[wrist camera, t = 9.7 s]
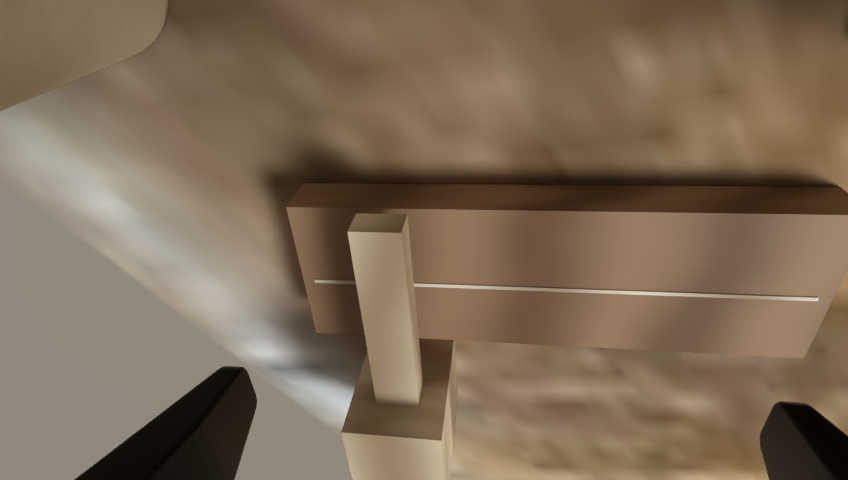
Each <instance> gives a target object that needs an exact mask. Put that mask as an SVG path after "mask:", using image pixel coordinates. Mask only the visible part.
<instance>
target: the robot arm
mask: <svg viewBox="0 0 848 480" xmlns="http://www.w3.org/2000/svg"><path fill="white" fill-rule="evenodd" d="M256 405H257V399H256V394H255V391H254V388H253V386H252V383H251V380H250V377H249V374H248V372H247V370H246V369H245V368H243V367H233V366H224V367H222V368H220V369H218V370H217V371H216V372H214V373H213V374H212V375H210V376H209V377H208V378H206V379H205V380H204V381H203V382H201V383H200V384H199V385H197V386H196V387H195V388H194V389H192V390H191V391H189V392H188V393H187V394H186V395H184V396H183V397H182V398H180V399H179V400H178V401H176V402H175V403H174V404H173V405H171V406H170V407H169V408H167V409H166V410H165V411H164V412H162V413H161V414H160V415H158V416H157V417H156V418H154V419H153V420H152V421H150V422H149V423H148V424H146V425H145V426H144V427H143V428H141V429H140V430H139V431H137V432H136V433H135V434H133V435H132V436H131V437H129V438H128V439H127V440H126V441H124V442H123V443H122V444H120V445H119V446H118V447H117V448H115V449H114V450H113V451H112V452H110V453H109V454H107V455H106V456H105V457H103V458H102V459H101V460H100V461H98V462H97V463H96V464H94V465H93V466H92V467H90V468H89V469H88V470H86V471H85V472H84V473H83V474H81V475H80V476H79V477H77V478H76V479H75V480H234V479H235V476H236V473H237V470H238V466H239V463H240V460H241V456H242V453H243V449H244V446H245V443H246V440H247V436H248V433H249V430H250V427H251V423H252V420H253V417H254V413H255V410H256ZM760 447H761V451H762V454H763V458H764V462H765V465H766V469H767V473H768V476H769V480H848V436H847V435H846V434H845V433H844V432H842V431H841V430H840V429H839V428H837V427H836V426H835V425H834V424H832V423H831V422H830V421H829V420H828V419H826V418H825V417H824V416H823V415H821V414H820V413H819V412H818V411H816V410H815V409H814V408H813V407H811V406H809V405H808V404H805V403H799V402H783V401H781V402H778V403H776V404H774V406H773V408H772V410H771V412H770V414H769V416H768V418H767V420H766V422H765V425H764V427H763V429H762V431H761V434H760Z"/></svg>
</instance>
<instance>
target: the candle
mask: <svg viewBox="0 0 848 480" xmlns="http://www.w3.org/2000/svg"><path fill="white" fill-rule="evenodd" d="M167 12H168V0H0V111H1V110H4V109H6V108H9V107H11V106H13V105H16V104H18V103H21V102H23V101H26V100H28V99H30V98H33V97H35V96H38V95H40V94H43V93H45V92H47V91H50V90H52V89H55V88H57V87H60V86H62V85H65V84H67V83H69V82H72V81H74V80H77V79H79V78H82V77H84V76H86V75H89V74H91V73H94V72H96V71H99V70H101V69H103V68H106V67H108V66H111V65H113V64H116V63H118V62H120V61H123V60H125V59H127V58H129V57H132V56H134V55H136V54H138V53H140V52H142V51H143V50H144V49H146V48H147V47H148V46H149V45H151V44H152V43H153V42H154V41H155V40H156V38H157V37H158V36H159V34H160V32H161V31H162V29H163V26H164V24H165V21H166V17H167Z"/></svg>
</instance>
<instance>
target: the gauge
mask: <svg viewBox="0 0 848 480" xmlns="http://www.w3.org/2000/svg"><path fill="white" fill-rule="evenodd" d="M347 233H348V239H349V244H350V250H351V256H352V262H353V268H354V274H355V280H356V286H357V292H358V298H359V304H360V309H361V315H362V321H363V327H364V333H365V339H366V345H367V353H366V356H365V359H364V362H363V365H362V369H361V372H360V375H359V378H358V381H357V384H356V388H355V391H354V394H353V397H352V400H351V404H350V407H349V410H348V413H347V416H346V419H345V423H344V426H343V429H342V432H341V433H342V437H343V441H344V446H345V450H346V454H347V458H348V462H349V467H350V471H351V475H352V479H353V480H450V471H451V461H452V451H453V441H454V431H455V421H456V412H457V402H458V400H457V374H456V348H455V340H444V339H424V338H419V335H418V324H417V313H416V302H415V291H414V280H413V269H412V259H411V248H410V237H409V226H408V215H407V214H368V213H356V215H355V217H354V219H353V221H352V223H351V225H350V227H349V229H348V231H347Z"/></svg>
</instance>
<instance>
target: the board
mask: <svg viewBox="0 0 848 480" xmlns="http://www.w3.org/2000/svg"><path fill="white" fill-rule="evenodd" d="M286 209H287V213H288V217H289V221H290V226H291V230H292V234H293V238H294V242H295V246H296V251H297V255H298V259H299V263H300V267H301V271H302V275H303V280H304V284H305V288H306V292H307V296H308V300H309V305H310V309H311V313H312V317H313V321H314V325H315V329H316V333H328V334H347V335H365V333H364V327H363V321H362V315H361V309H360V304H359V298H358V292H357V286H356V280H355V274H354V268H353V262H352V256H351V250H350V244H349V239H348V233H347V231H348V229H349V227H350V225H351V223H352V221H353V219H354V217H355V215H356V213H368V214H407V215H408V226H409V237H410V248H411V259H412V269H413V280H414V291H415V302H416V313H417V324H418V335H419V338H424V339H444V340H463V341H482V342H501V343H521V344H540V345H559V346H579V347H598V348H617V349H636V350H656V351H675V352H694V353H713V354H733V355H752V356H771V357H791V358H804V357H805V355H806V353H807V351H808V349H809V347H810V345H811V343H812V341H813V339H814V337H815V335H816V333H817V331H818V329H819V327H820V325H821V322H822V320H823V318H824V316H825V314H826V312H827V310H828V308H829V306H830V304H831V302H832V300H833V298H834V296H835V294H836V292H837V290H838V288H839V286H840V284H841V281H842V279H843V277H844V275H845V273H846V271H847V269H848V193H847V192H846V191H844V190H843V189H842V188H841V187H788V186H638V185H489V184H340V183H303V185H302V186H301V187H300V189H299V190H298V191H297V193H296V194H295V196H294V197H293V198H292V200H291V201H290V202H289V204H288V205H287V207H286Z"/></svg>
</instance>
